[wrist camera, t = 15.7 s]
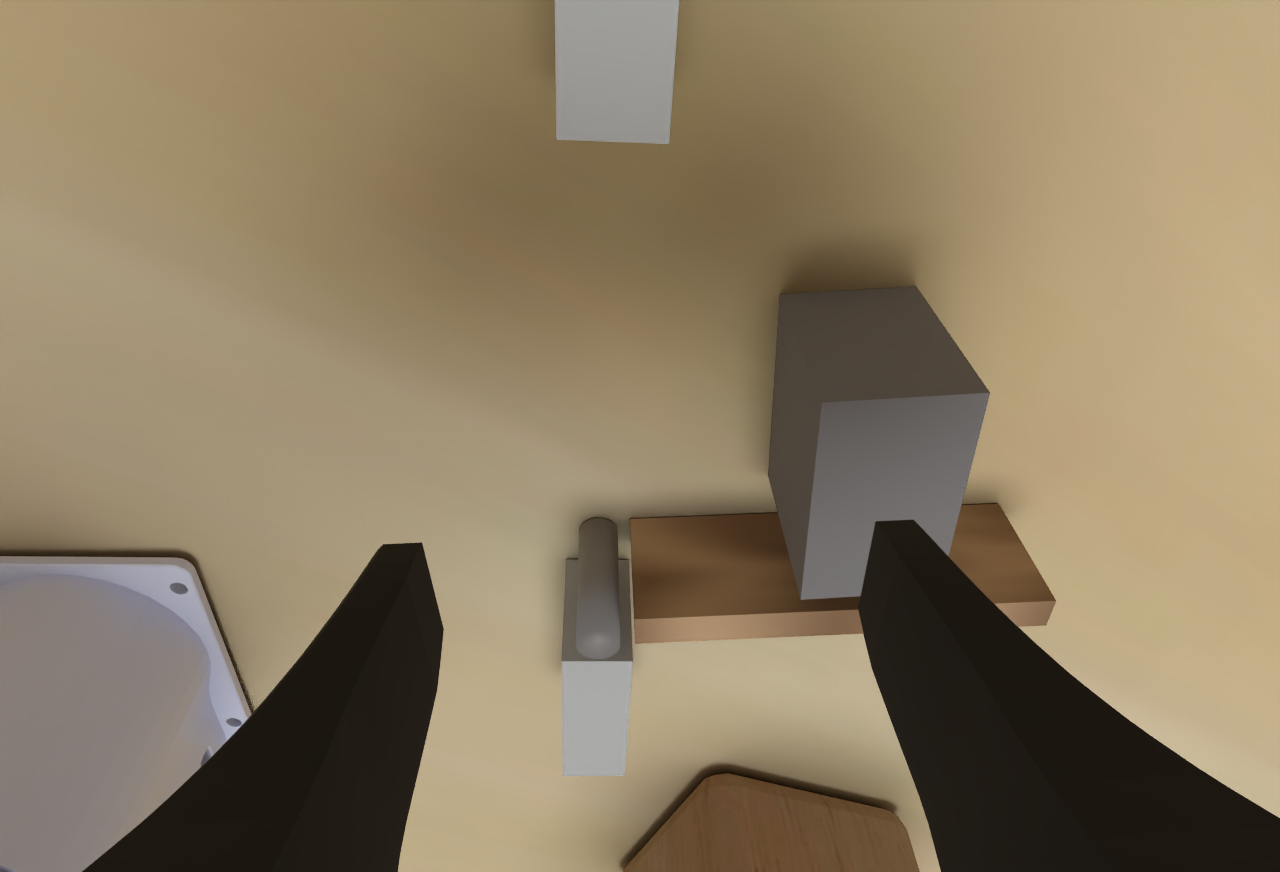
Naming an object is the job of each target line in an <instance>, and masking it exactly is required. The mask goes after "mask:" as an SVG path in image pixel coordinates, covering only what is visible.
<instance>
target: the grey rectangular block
mask: <svg viewBox="0 0 1280 872" xmlns="http://www.w3.org/2000/svg"><path fill="white" fill-rule="evenodd" d="M989 395H990V392H989V391H988V389H987V388H986V386H985V385H984V383H983V382H982V381H981V379H980V378H979V376H978V375H977V373H976V372H975V370H974V369H973V368H972V366H971V365H970V363H969V362H968V360H967V359H966V357H965V356H964V355H963V353H962V352H961V350H960V349H959V347H958V346H957V344H956V343H955V342H954V340H953V339H952V337H951V336H950V334H949V333H948V331H947V330H946V329H945V327H944V326H943V324H942V323H941V321H940V320H939V318H938V317H937V316H936V314H935V313H934V311H933V310H932V308H931V307H930V306H929V304H928V303H927V301H926V300H925V298H924V297H923V295H922V294H921V293H920V291H919V290H918V288H917V287H916V286H913V287H895V288H878V289H861V290H843V291H826V292H809V293H791V294H780V299H779V315H778V330H777V346H776V361H775V377H774V392H773V408H772V423H771V439H770V454H769V470H768V477H769V481H770V484H771V488H772V492H773V496H774V500H775V504H776V507H777V511H778V515H779V519H780V523H781V527H782V530H783V534H784V538H785V542H786V546H787V549H788V553H789V557H790V561H791V565H792V569H793V572H794V576H795V580H796V584H797V588H798V592H799V595H800V599H801V600H806V599H823V598H839V597H856V596H861V591H862V586H863V581H864V576H865V571H866V566H867V561H868V556H869V551H870V546H871V541H872V536H873V531H874V526H875V521H893V520H915V521H916V522H917V523H918V524H919V525H920V527H921V528H922V529H923V530H924V531H925V532H926V533H927V534H928V535H929V536H930V537H931V538H932V539H933V540H934V541H935V542H936V544H937V545H938V546H939V547H940V548H941V549H942V550H943V551H944V552H945V553H946V554H947V555H948V556H949V552H950V548H951V544H952V540H953V536H954V532H955V528H956V524H957V520H958V517H959V513H960V509H961V505H962V501H963V497H964V493H965V489H966V485H967V481H968V477H969V473H970V469H971V465H972V461H973V458H974V454H975V450H976V446H977V442H978V438H979V434H980V430H981V426H982V422H983V418H984V414H985V410H986V406H987V402H988V399H989Z"/></svg>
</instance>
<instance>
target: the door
mask: <svg viewBox="0 0 1280 872" xmlns="http://www.w3.org/2000/svg"><path fill="white" fill-rule="evenodd" d="M630 534H631V558H632V581H633V605H634V628H635V644H637V643H660V642H682V641H705V640H727V639H749V638H772V637H794V636H817V635H839V634H862V633H863V629H862V624H861V620H860V615H859V611H858V606H859V601H860V596H856V597H839V598H823V599H806V600H801V599H800V595H799V592H798V588H797V584H796V580H795V576H794V572H793V569H792V565H791V561H790V557H789V553H788V549H787V546H786V542H785V538H784V534H783V530H782V527H781V523H780V519H779V515H778V513H763V514H739V515H715V516H691V517H666V518H642V519H630ZM949 557H950V559H951V560H952V561H953V562H954V563H955V564H956V565H957V566H958V567H959V568H960V569H961V570H962V571H963V572H964V573H965V574H966V575H967V576H968V578H969V579H970V580H971V581H972V582H973V583H974V584H975V585H976V586H977V587H978V588H979V589H980V590H981V591H982V592H983V593H984V594H985V595H986V596H987V597H988V598H989V599H990V600H991V601H992V602H993V603H994V604H995V605H996V606H997V607H998V608H999V609H1000V610H1001V611H1002V612H1003V613H1004V614H1005V615H1006V616H1007V617H1008V618H1009V619H1010V620H1011V621H1012V622H1013V623H1014V624H1015V625H1016V626H1018V627H1019V626H1041V625H1046V624H1047V622H1048V619H1049V617H1050V615H1051V612H1052V610H1053V607H1054V605H1055V602H1056V600H1055V598H1054V596H1053V595H1052V593H1051V591H1050V590H1049V588H1048V586H1047V585H1046V583H1045V581H1044V579H1043V578H1042V576H1041V574H1040V573H1039V571H1038V569H1037V568H1036V566H1035V564H1034V563H1033V561H1032V559H1031V557H1030V556H1029V554H1028V552H1027V551H1026V549H1025V547H1024V546H1023V544H1022V542H1021V541H1020V539H1019V537H1018V535H1017V534H1016V532H1015V530H1014V529H1013V527H1012V525H1011V524H1010V522H1009V520H1008V519H1007V517H1006V515H1005V513H1004V512H1003V510H1002V508H1001V507H1000V505H999V504H979V505H961V509H960V513H959V517H958V520H957V524H956V528H955V532H954V536H953V540H952V544H951V548H950V552H949Z"/></svg>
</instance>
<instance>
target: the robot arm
mask: <svg viewBox="0 0 1280 872" xmlns="http://www.w3.org/2000/svg"><path fill="white" fill-rule="evenodd" d="M180 583H182V584H180ZM858 611H859V615H860V620H861V624H862V629H863V633H864V638H865V642H866V646H867V650H868V654H869V658H870V662H871V666H872V670H873V672H874V675H875V678H876V681H877V684H878V686H879V689H880V692H881V695H882V697H883V700H884V703H885V705H886V708H887V711H888V714H889V716H890V719H891V722H892V724H893V727H894V730H895V732H896V735H897V738H898V740H899V743H900V746H901V748H902V751H903V754H904V756H905V759H906V762H907V764H908V767H909V770H910V772H911V775H912V778H913V780H914V783H915V786H916V788H917V791H918V794H919V797H920V800H921V803H922V806H923V809H924V812H925V815H926V818H927V821H928V824H929V828H930V831H931V835H932V839H933V843H934V846H935V850H936V854H937V858H938V861H939V865H940V869H941V872H1280V818H1278V817H1277V816H1275V815H1273V814H1272V813H1270V812H1268V811H1267V810H1265V809H1263V808H1262V807H1260V806H1258V805H1257V804H1255V803H1253V802H1252V801H1250V800H1248V799H1247V798H1245V797H1243V796H1242V795H1240V794H1238V793H1237V792H1235V791H1233V790H1232V789H1230V788H1229V787H1227V786H1225V785H1224V784H1222V783H1221V782H1219V781H1218V780H1216V779H1214V778H1213V777H1211V776H1210V775H1208V774H1207V773H1205V772H1203V771H1202V770H1200V769H1199V768H1197V767H1196V766H1194V765H1193V764H1191V763H1190V762H1188V761H1187V760H1185V759H1184V758H1182V757H1181V756H1179V755H1178V754H1177V753H1175V752H1174V751H1172V750H1171V749H1169V748H1168V747H1166V746H1165V745H1163V744H1162V743H1160V742H1159V741H1158V740H1156V739H1155V738H1153V737H1152V736H1150V735H1149V734H1147V733H1146V732H1145V731H1143V730H1142V729H1141V728H1139V727H1138V726H1136V725H1135V724H1134V723H1132V722H1131V721H1129V720H1128V719H1127V718H1125V717H1124V716H1123V715H1121V714H1120V713H1119V712H1118V711H1116V710H1115V709H1114V708H1112V707H1111V706H1110V705H1109V704H1107V703H1106V702H1105V701H1104V700H1102V699H1101V698H1100V697H1098V696H1097V695H1096V694H1095V693H1093V692H1092V691H1091V690H1089V689H1088V688H1087V687H1086V686H1084V685H1083V684H1082V683H1081V682H1079V681H1078V680H1077V679H1076V678H1075V677H1073V676H1072V675H1071V674H1070V673H1069V672H1067V671H1066V670H1065V669H1064V668H1063V667H1061V666H1060V665H1059V664H1058V663H1057V662H1056V661H1055V660H1054V659H1053V658H1051V657H1050V656H1049V655H1048V654H1047V653H1046V652H1045V651H1044V650H1042V649H1041V648H1040V647H1039V646H1038V645H1037V644H1036V643H1035V642H1034V641H1032V640H1031V639H1030V638H1029V637H1028V636H1027V635H1026V634H1025V633H1024V632H1023V631H1022V630H1021V629H1020V628H1019V627H1018V626H1016V625H1015V624H1014V623H1013V622H1012V621H1011V620H1010V619H1009V618H1008V617H1007V616H1006V615H1005V614H1004V613H1003V612H1002V611H1001V610H1000V609H999V608H998V607H997V606H996V605H995V604H994V603H993V602H992V601H991V600H990V599H989V598H988V597H987V596H986V595H985V594H984V593H983V592H982V591H981V590H980V589H979V588H978V587H977V586H976V585H975V584H974V583H973V582H972V581H971V580H970V579H969V578H968V576H967V575H966V574H965V573H964V572H963V571H962V570H961V569H960V568H959V567H958V566H957V565H956V564H955V563H954V562H953V561H952V560H951V559H950V557H949V556H948V555H947V554H946V553H945V552H944V551H943V550H942V549H941V548H940V547H939V546H938V545H937V544H936V542H935V541H934V540H933V539H932V538H931V537H930V536H929V535H928V534H927V533H926V532H925V531H924V530H923V529H922V528H921V527H920V525H919V524H918V523H917V522H916V521H915V520H893V521H875V526H874V531H873V536H872V541H871V546H870V551H869V556H868V561H867V566H866V571H865V576H864V581H863V586H862V591H861V596H860V601H859V606H858ZM443 630H444V629H443V625H442V621H441V617H440V613H439V609H438V605H437V601H436V597H435V593H434V589H433V585H432V581H431V577H430V573H429V569H428V565H427V561H426V557H425V553H424V549H423V545H422V543H404V544H383V545H382V546H381V547H380V548H379V549H378V550H377V552H376V553H375V555H374V556H373V558H372V559H371V561H370V562H369V563H368V565H367V566H366V568H365V569H364V571H363V572H362V574H361V575H360V577H359V578H358V580H357V581H356V582H355V584H354V585H353V587H352V588H351V590H350V591H349V592H348V594H347V595H346V597H345V598H344V599H343V601H342V602H341V604H340V605H339V606H338V608H337V609H336V611H335V612H334V613H333V615H332V616H331V617H330V619H329V620H328V621H327V623H326V624H325V625H324V627H323V628H322V629H321V631H320V632H319V633H318V635H317V636H316V637H315V639H314V640H313V641H312V642H311V644H310V645H309V646H308V648H307V649H306V650H305V652H304V653H303V654H302V655H301V657H300V658H299V659H298V660H297V662H296V663H295V664H294V665H293V667H292V668H291V669H290V670H289V671H288V672H287V674H286V675H285V676H284V677H283V678H282V680H281V681H280V682H279V683H278V684H277V686H276V687H275V688H274V689H273V690H272V692H271V693H270V694H269V695H268V696H267V698H266V699H265V700H264V701H263V702H262V703H261V705H260V706H259V707H258V708H257V709H256V710H255V711H254V712H253V713H252V714H251V712H250V709H249V706H248V704H247V701H246V699H245V696H244V693H243V691H242V688H241V686H240V683H239V680H238V678H237V675H236V673H235V670H234V667H233V665H232V662H231V660H230V657H229V655H228V652H227V649H226V647H225V644H224V642H223V639H222V636H221V634H220V631H219V629H218V626H217V623H216V621H215V618H214V616H213V613H212V610H211V608H210V605H209V603H208V600H207V598H206V595H205V592H204V590H203V587H202V585H201V582H200V579H199V577H198V574H197V572H196V569H195V568H194V566H193V565H192V564H191V563H190V562H188V561H187V560H184V559H182V558H171V557H41V556H0V872H398V865H399V858H400V852H401V846H402V841H403V836H404V831H405V826H406V821H407V817H408V813H409V808H410V804H411V800H412V796H413V791H414V787H415V783H416V779H417V774H418V770H419V766H420V762H421V757H422V753H423V749H424V745H425V740H426V736H427V732H428V727H429V723H430V719H431V714H432V710H433V706H434V701H435V697H436V692H437V686H438V677H439V669H440V660H441V650H442V640H443Z"/></svg>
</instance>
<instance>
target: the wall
mask: <svg viewBox="0 0 1280 872" xmlns="http://www.w3.org/2000/svg"><path fill="white" fill-rule="evenodd" d="M678 10H679V0H555V69H556V140H577V141H603V142H629V143H654V144H669V138H670V124H671V110H672V96H673V81H674V67H675V53H676V39H677V25H678ZM632 665H633V655H632V630H631V604H630V579H629V560H618V530H617V527H616V526H615V524H614V523H613V522H611V521H609V520H607V519H604V518H593V519H590V520H587V521H586V522H584V523H583V524H582V525H581V527H580V530H579V553H578V559H566V579H565V600H564V622H563V644H562V740H563V776H625V764H626V750H627V736H628V722H629V708H630V693H631V679H632Z"/></svg>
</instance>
